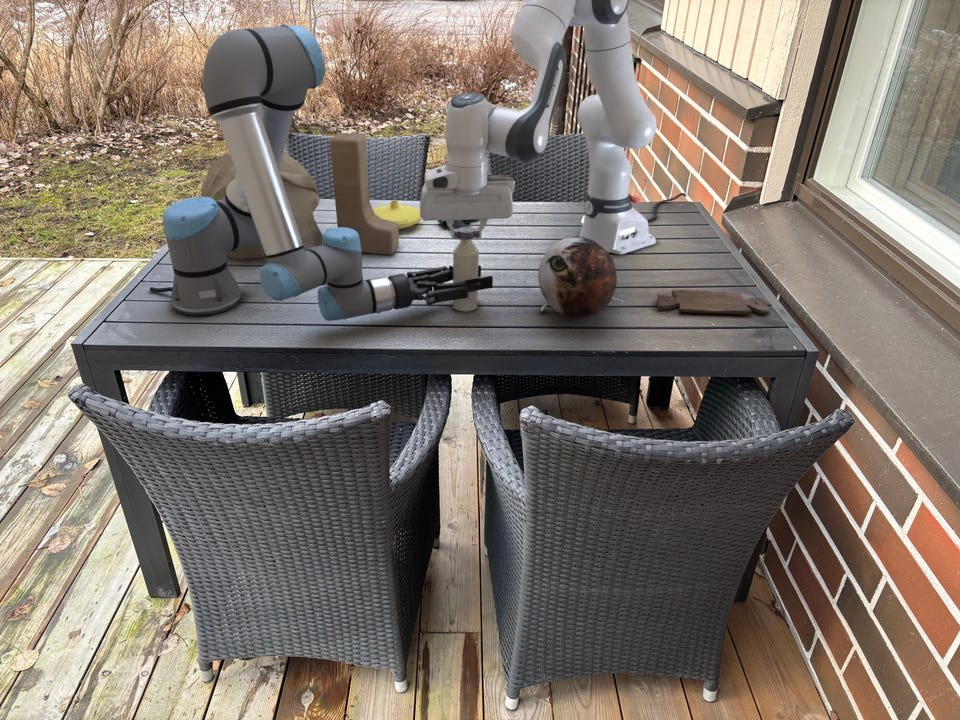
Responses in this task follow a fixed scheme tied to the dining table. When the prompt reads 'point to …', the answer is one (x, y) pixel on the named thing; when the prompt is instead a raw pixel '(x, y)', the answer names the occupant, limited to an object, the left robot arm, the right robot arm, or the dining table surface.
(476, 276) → the bottle
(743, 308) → the dark wooden board
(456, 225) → the handgun
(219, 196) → the helmet
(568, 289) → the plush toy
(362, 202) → the decorative block
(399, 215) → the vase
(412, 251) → the dining table surface
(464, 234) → the cap
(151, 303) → the dining table surface
